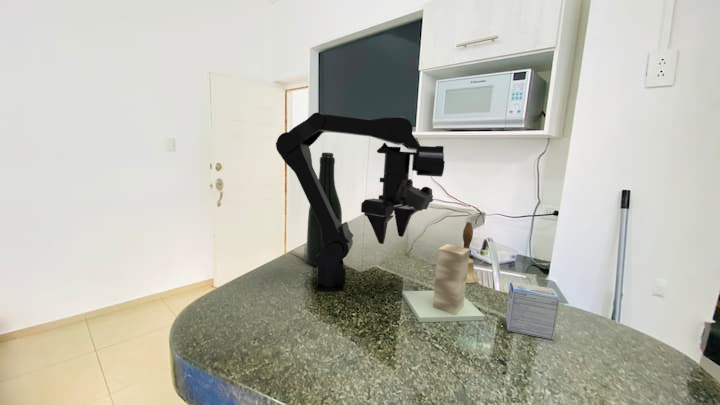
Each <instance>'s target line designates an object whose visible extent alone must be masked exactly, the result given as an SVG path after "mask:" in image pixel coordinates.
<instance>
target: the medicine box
mask: <svg viewBox="0 0 720 405" xmlns="http://www.w3.org/2000/svg"><path fill="white" fill-rule="evenodd" d="M508 289H509V290H508V293H507V294H508V296H507V305H506V309H505V310H506V312H505V323H506V327H507V328H506V329H507V331H509V332H514V333H518V334H523V335H528V336H533V337H538V338H542V339H546V340H547V339H548V340H552V341H554V340H555V332H556V329H557V328H556V326H557V320H558V314H559V309H560V303H561V297H559V295H558V293H557V292H556V291H555V290H554V288H550V287H546V286H539V285H534V284H533V285H532V284H528V283H520V282H514V281H510V282H509V288H508Z"/></svg>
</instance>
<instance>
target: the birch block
mask: <svg viewBox="0 0 720 405" xmlns="http://www.w3.org/2000/svg"><path fill="white" fill-rule="evenodd" d="M463 247H464V246H458V245H453V244H448V243H447V244H444V245H443V246H440V247H439V248H438V249H437V257H436V258H437V260H436V269H435V278H434V279H435V280H434V281H435V282H434V288H433V291H434V299H433V308H436V309H439V310H442V311H445V312H448V313H450V314H453V315H457V313H458V312H459V311H460V310H461V309H462V308H463V307H464V298H466V297H465V296H466V285H467V283H466V280H467V271H468V262H469V258H470V252H471V250H470V249H471V248H469V249H467V248H463Z"/></svg>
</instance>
